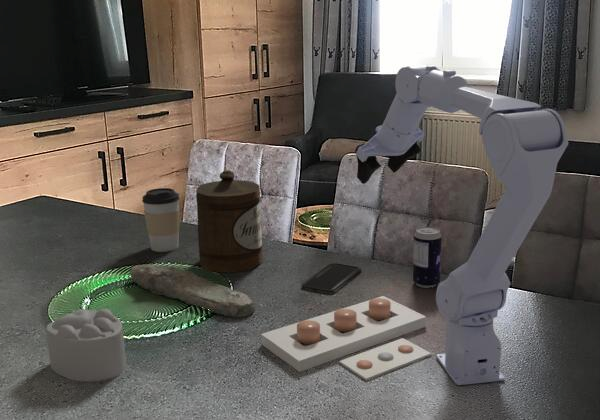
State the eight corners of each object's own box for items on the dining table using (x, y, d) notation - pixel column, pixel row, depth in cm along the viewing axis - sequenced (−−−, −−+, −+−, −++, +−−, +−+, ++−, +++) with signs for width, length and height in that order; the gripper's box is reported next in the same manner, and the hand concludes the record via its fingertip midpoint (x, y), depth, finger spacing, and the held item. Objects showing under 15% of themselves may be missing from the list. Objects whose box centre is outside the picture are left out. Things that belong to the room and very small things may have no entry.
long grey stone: (231, 332, 129) (266, 316, 136) (232, 306, 127) (267, 292, 135) (116, 282, 149) (151, 271, 157) (115, 259, 148) (151, 249, 156)
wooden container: (255, 274, 153) (251, 178, 147) (191, 271, 155) (185, 177, 149) (268, 252, 167) (265, 164, 161) (210, 250, 169) (204, 163, 163)
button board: (383, 305, 135) (383, 295, 135) (425, 326, 125) (426, 316, 125) (261, 344, 120) (261, 334, 120) (299, 372, 111) (299, 361, 110)
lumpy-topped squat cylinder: (93, 343, 123) (88, 298, 120) (142, 362, 115) (137, 315, 113) (42, 367, 115) (35, 319, 112) (91, 389, 107) (85, 339, 105)
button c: (311, 331, 121) (311, 318, 120) (324, 339, 118) (324, 326, 117) (292, 337, 119) (292, 324, 118) (305, 346, 115) (305, 332, 115)
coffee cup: (143, 245, 174) (137, 188, 170) (177, 239, 178) (173, 183, 174) (151, 255, 166) (146, 196, 162) (187, 249, 170) (183, 191, 166)
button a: (380, 308, 129) (380, 296, 129) (394, 316, 126) (395, 303, 125) (364, 314, 127) (364, 301, 126) (378, 321, 124) (378, 309, 123)
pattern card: (402, 340, 121) (402, 337, 120) (430, 355, 115) (430, 352, 115) (339, 363, 113) (339, 359, 113) (366, 380, 108) (366, 377, 107)
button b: (347, 319, 125) (347, 307, 124) (361, 327, 122) (361, 314, 121) (329, 325, 123) (329, 312, 122) (343, 333, 120) (343, 320, 119)
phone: (362, 267, 153) (332, 291, 141) (362, 272, 153) (332, 296, 141) (331, 262, 157) (299, 284, 144) (331, 267, 157) (299, 289, 145)
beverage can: (439, 290, 142) (441, 235, 138) (412, 288, 143) (413, 234, 140) (439, 279, 147) (441, 226, 144) (413, 278, 148) (414, 225, 145)
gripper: (417, 98, 125) (392, 149, 135) (356, 117, 117) (334, 169, 127) (441, 124, 121) (414, 174, 132) (380, 145, 114) (356, 196, 124)
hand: (376, 174), depth 129 cm, fingers open, 7 cm apart
